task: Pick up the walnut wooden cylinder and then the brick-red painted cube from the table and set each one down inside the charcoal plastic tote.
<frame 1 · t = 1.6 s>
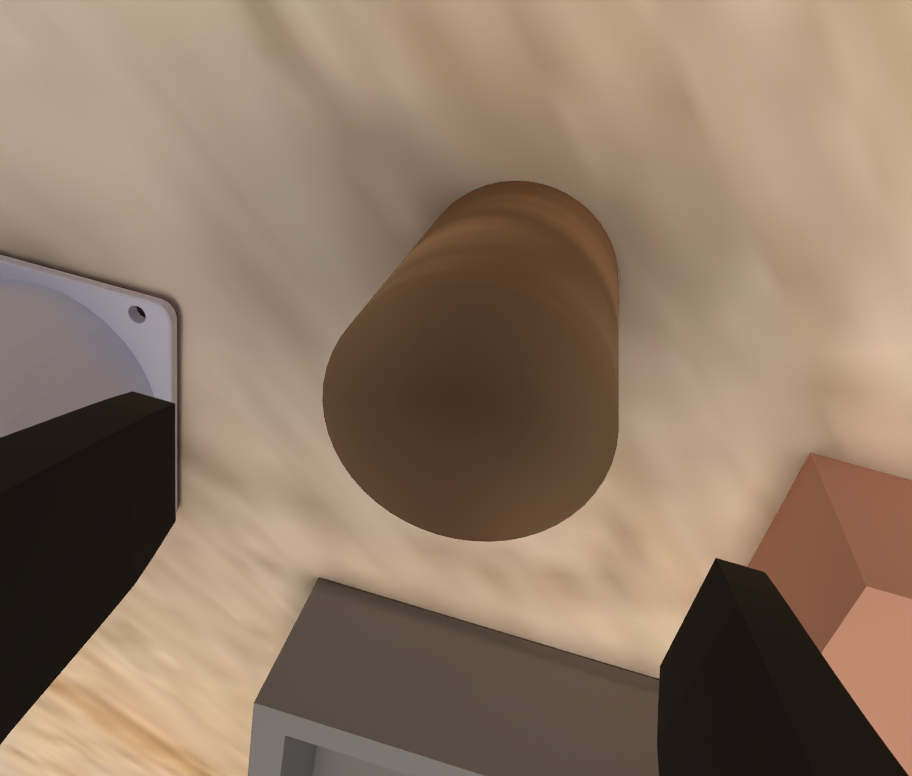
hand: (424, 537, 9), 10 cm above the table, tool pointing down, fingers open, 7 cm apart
walnut cylinder: (516, 282, 18), on the table
cube: (860, 548, 20), on the table
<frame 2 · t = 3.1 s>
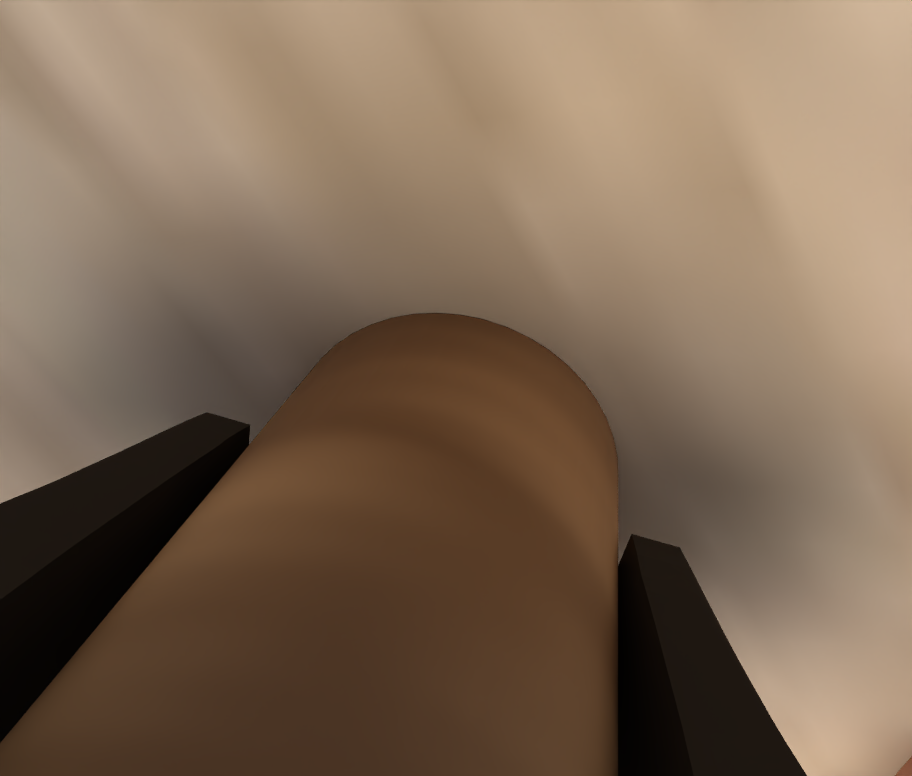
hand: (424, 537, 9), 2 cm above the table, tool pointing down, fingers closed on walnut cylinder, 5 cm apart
walnut cylinder: (448, 467, 11), on the table, touching gripper
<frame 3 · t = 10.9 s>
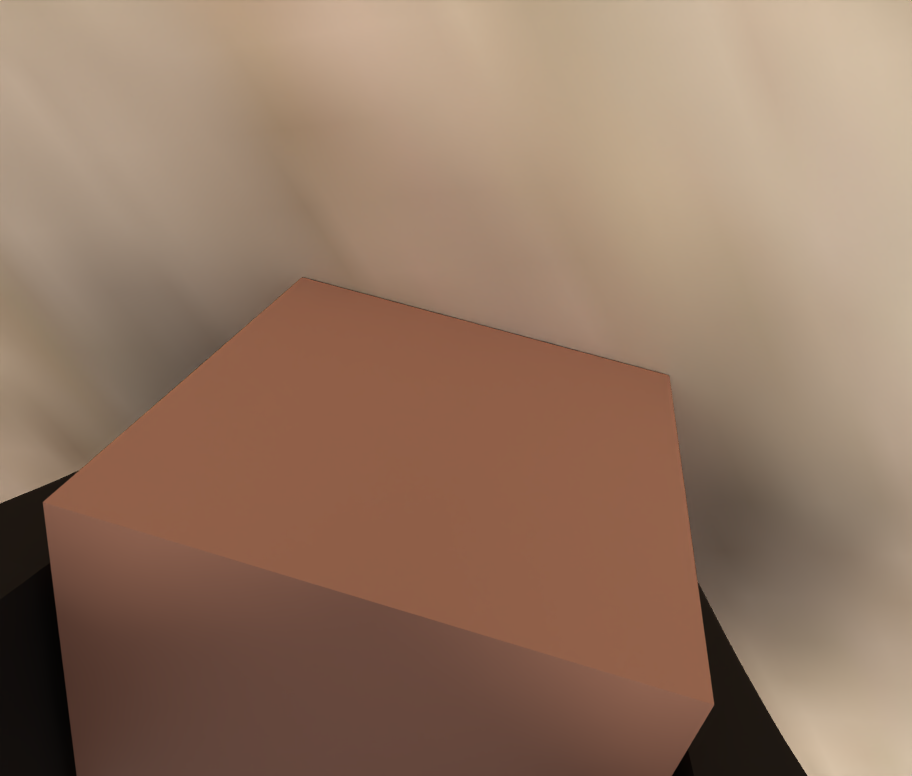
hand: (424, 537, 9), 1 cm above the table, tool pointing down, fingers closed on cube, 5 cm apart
cube: (446, 474, 11), on the table, touching gripper
when the fingers open (3 cm above the table, at t = 14.7 s): cube drops 1 cm, resting on tote.
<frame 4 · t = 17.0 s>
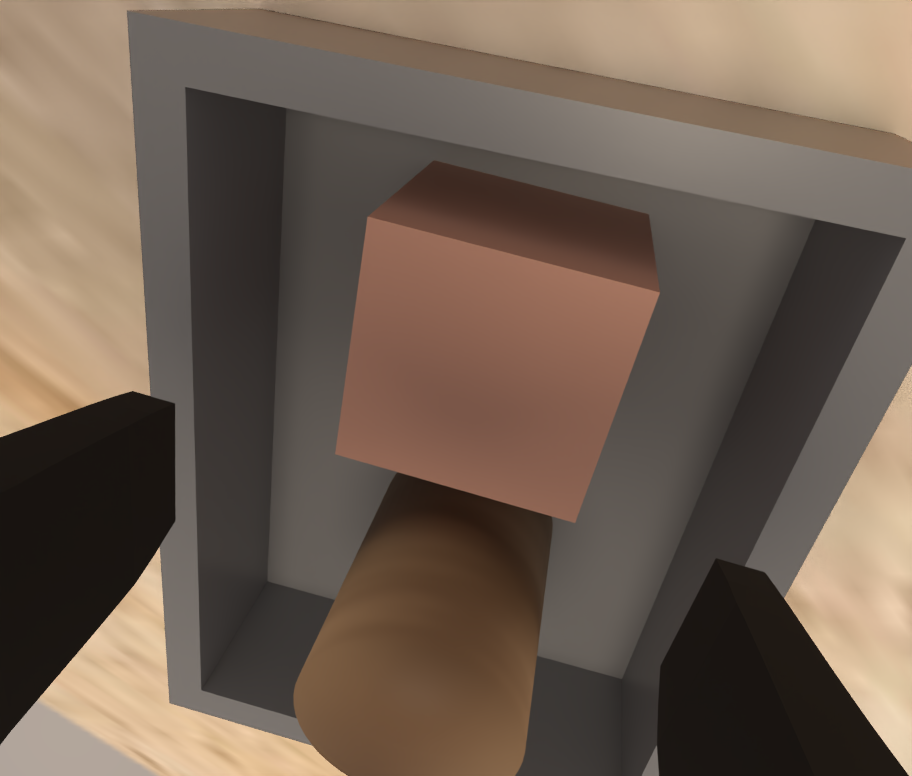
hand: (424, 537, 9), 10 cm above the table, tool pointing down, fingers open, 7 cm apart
tote: (487, 415, 20), on the table
walnut cylinder: (467, 519, 21), point 1 cm above the table, touching tote
cube: (514, 288, 17), point 1 cm above the table, touching tote
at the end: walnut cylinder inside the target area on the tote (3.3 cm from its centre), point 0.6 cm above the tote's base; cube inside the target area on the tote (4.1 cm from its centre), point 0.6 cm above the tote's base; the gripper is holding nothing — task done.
